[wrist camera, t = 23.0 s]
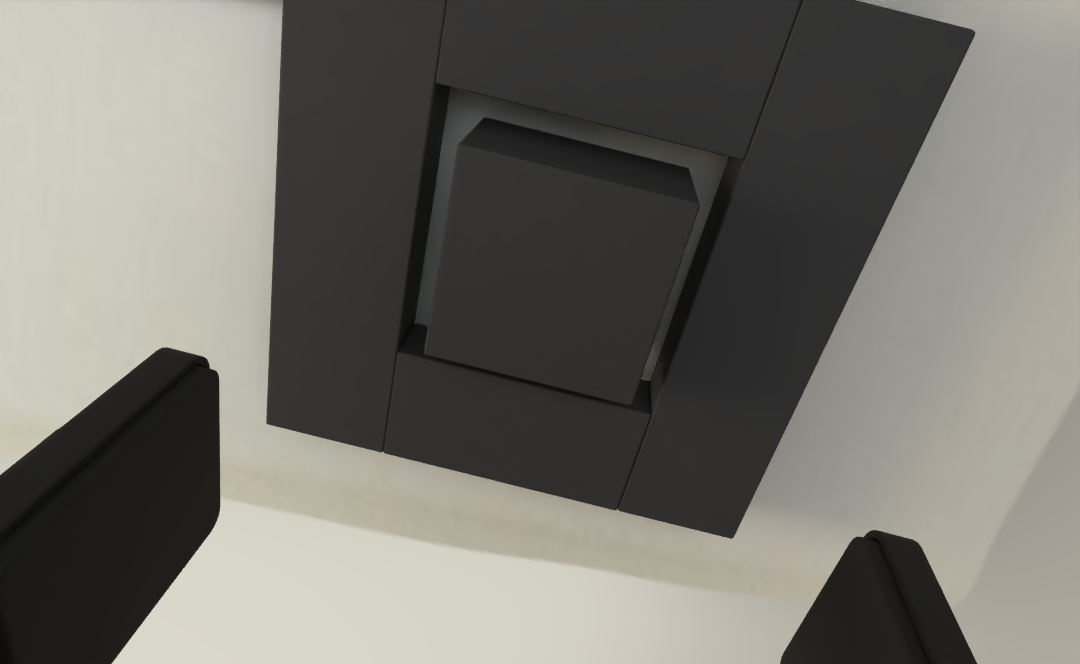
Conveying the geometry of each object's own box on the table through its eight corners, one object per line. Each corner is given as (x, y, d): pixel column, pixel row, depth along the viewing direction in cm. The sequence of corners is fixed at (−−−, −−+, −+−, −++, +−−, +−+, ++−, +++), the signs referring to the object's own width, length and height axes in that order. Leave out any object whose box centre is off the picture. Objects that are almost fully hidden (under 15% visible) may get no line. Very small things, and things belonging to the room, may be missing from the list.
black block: (689, 167, 20) (701, 204, 17) (630, 347, 23) (631, 406, 20) (483, 116, 20) (457, 143, 17) (450, 302, 23) (423, 355, 20)
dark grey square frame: (943, 25, 18) (978, 31, 16) (725, 500, 25) (733, 540, 23) (321, -132, 17) (287, -143, 16) (291, 392, 25) (265, 424, 23)
